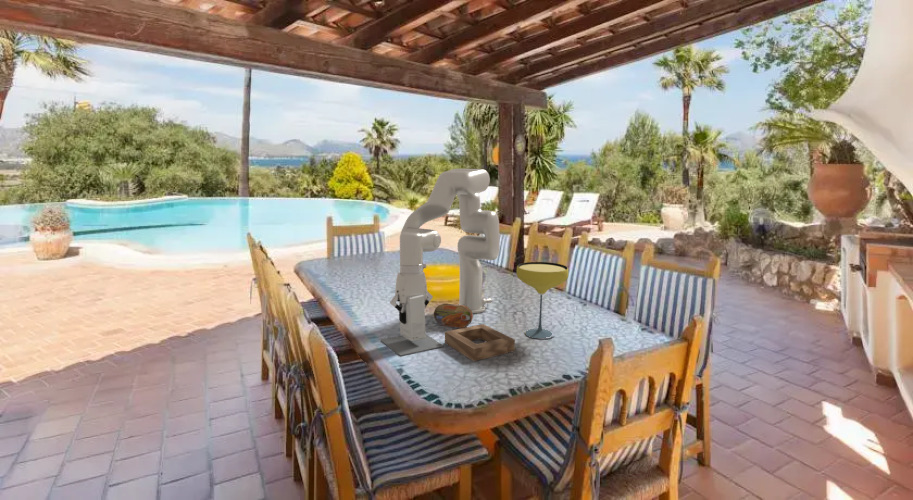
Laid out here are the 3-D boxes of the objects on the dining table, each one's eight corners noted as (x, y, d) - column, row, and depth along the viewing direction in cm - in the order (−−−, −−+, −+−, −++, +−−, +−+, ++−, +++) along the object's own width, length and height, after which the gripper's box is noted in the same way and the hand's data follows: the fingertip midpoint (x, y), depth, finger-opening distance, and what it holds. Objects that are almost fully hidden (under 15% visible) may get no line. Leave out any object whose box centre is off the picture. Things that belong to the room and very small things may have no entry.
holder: (483, 334, 171) (483, 324, 170) (514, 351, 156) (514, 339, 155) (444, 342, 162) (444, 331, 162) (473, 361, 147) (474, 349, 147)
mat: (421, 332, 172) (421, 331, 172) (444, 346, 159) (444, 345, 159) (380, 340, 164) (380, 339, 164) (400, 356, 151) (400, 355, 151)
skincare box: (425, 338, 159) (426, 295, 157) (410, 342, 156) (410, 298, 153) (414, 331, 166) (414, 290, 164) (398, 334, 163) (398, 292, 160)
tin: (433, 324, 182) (433, 303, 180) (436, 322, 184) (436, 301, 183) (470, 329, 176) (471, 307, 175) (473, 326, 179) (473, 305, 178)
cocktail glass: (567, 329, 177) (571, 263, 173) (562, 346, 160) (565, 274, 156) (520, 323, 183) (522, 260, 179) (509, 339, 166) (511, 269, 162)
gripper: (429, 264, 165) (429, 314, 168) (382, 269, 156) (383, 322, 159) (439, 268, 158) (439, 320, 161) (392, 274, 149) (393, 328, 153)
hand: (411, 320), depth 160 cm, fingers closed on skincare box, 5 cm apart
